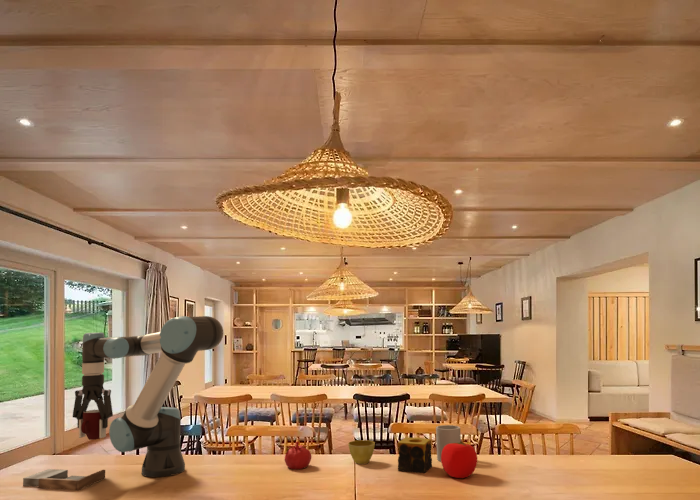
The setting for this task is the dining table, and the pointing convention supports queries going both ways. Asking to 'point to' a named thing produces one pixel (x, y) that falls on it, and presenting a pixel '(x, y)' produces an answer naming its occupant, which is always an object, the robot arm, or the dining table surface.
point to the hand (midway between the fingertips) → (92, 437)
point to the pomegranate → (297, 457)
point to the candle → (414, 455)
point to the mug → (91, 424)
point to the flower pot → (361, 450)
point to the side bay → (62, 479)
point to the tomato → (459, 459)
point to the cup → (446, 437)
